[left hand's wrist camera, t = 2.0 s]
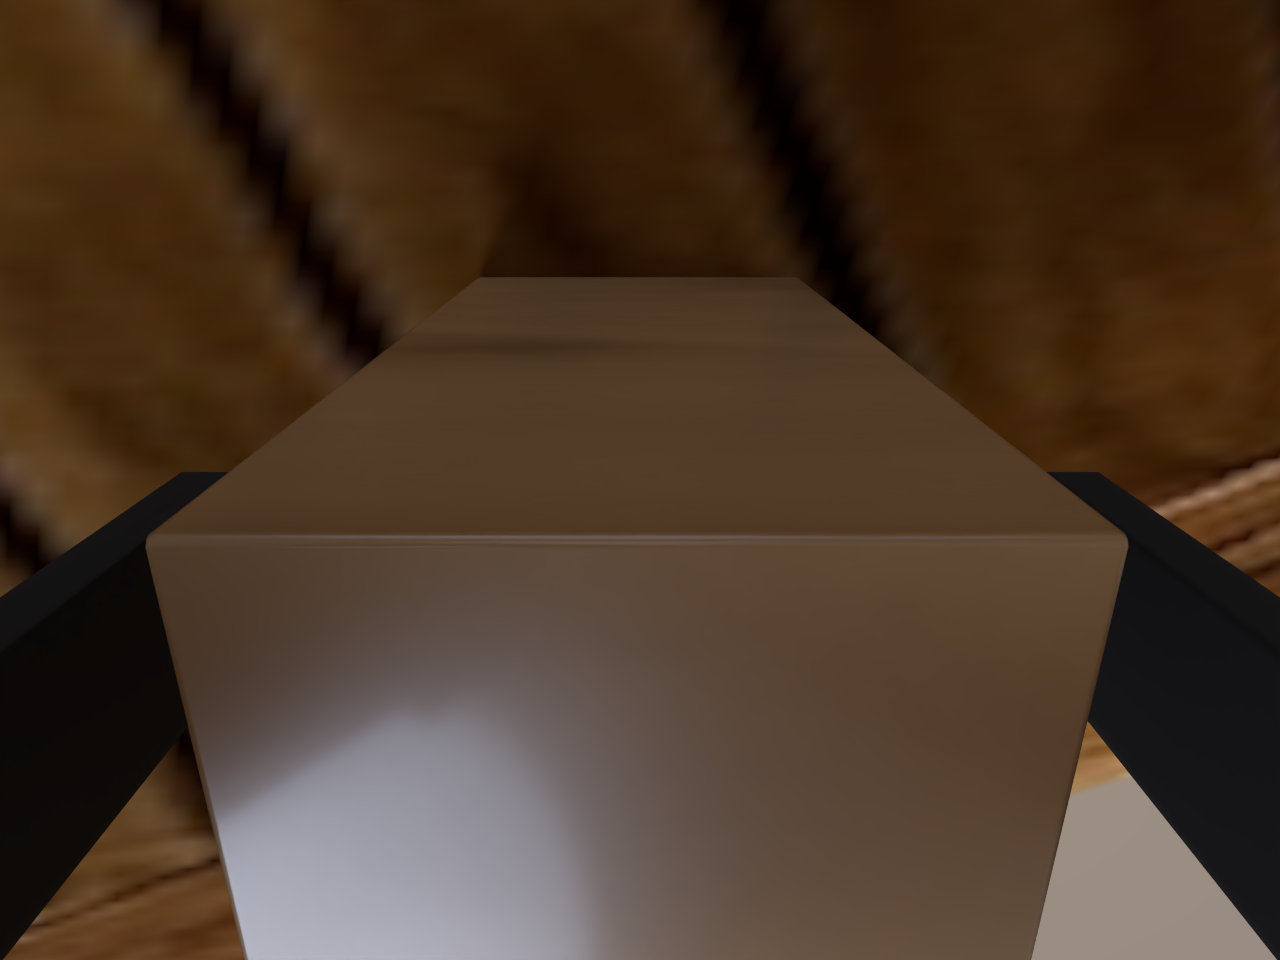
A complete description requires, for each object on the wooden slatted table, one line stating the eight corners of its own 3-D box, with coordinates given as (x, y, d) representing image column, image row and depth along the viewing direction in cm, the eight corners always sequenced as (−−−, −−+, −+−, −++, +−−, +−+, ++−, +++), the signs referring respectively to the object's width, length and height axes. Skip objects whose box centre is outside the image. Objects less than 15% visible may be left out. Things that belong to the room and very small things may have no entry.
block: (776, 612, 18) (967, 1248, 8) (500, 613, 18) (309, 1251, 8) (799, 276, 15) (1138, 535, 5) (476, 276, 15) (135, 537, 5)
